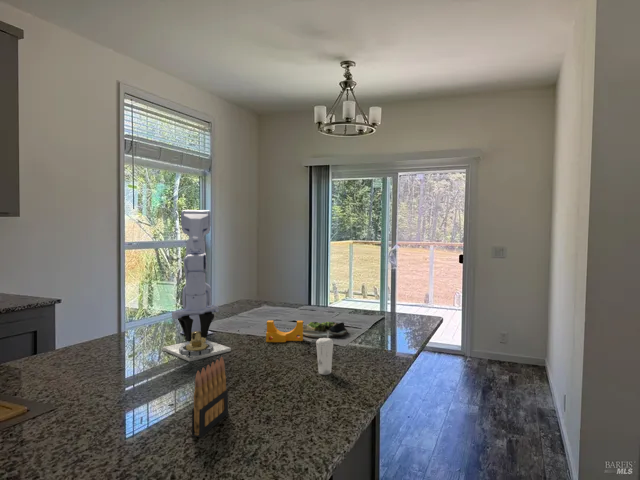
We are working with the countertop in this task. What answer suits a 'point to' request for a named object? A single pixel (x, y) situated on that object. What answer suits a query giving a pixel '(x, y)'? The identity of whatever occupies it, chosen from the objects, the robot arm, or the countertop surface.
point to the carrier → (188, 355)
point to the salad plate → (324, 329)
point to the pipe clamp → (283, 333)
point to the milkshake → (324, 354)
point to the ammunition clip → (209, 398)
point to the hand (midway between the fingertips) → (196, 339)
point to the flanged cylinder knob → (196, 342)
